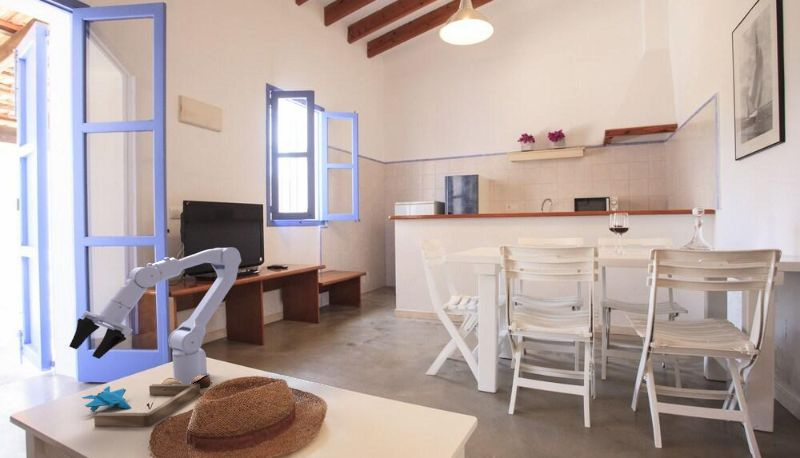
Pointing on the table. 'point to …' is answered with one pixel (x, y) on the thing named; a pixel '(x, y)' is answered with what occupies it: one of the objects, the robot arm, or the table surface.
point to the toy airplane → (108, 399)
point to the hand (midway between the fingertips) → (84, 352)
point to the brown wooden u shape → (147, 419)
